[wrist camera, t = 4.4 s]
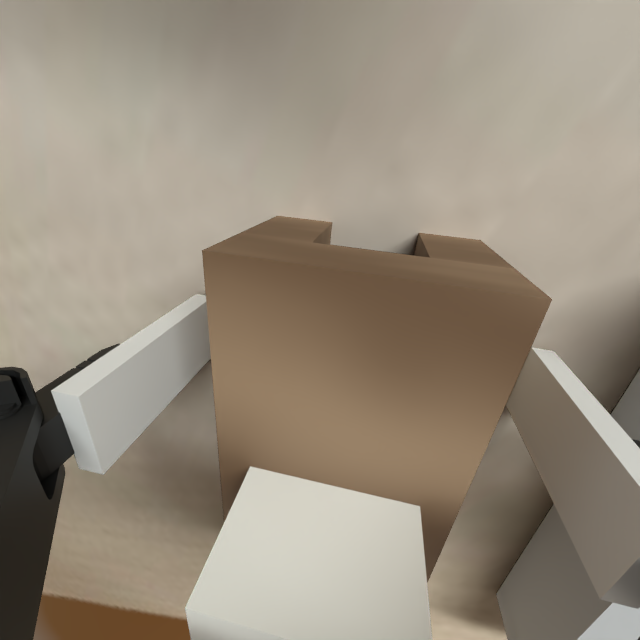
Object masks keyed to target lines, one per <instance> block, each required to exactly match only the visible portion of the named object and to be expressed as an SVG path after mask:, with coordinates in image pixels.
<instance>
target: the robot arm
mask: <svg viewBox="0 0 640 640" xmlns="http://www.w3.org/2000/svg"><path fill="white" fill-rule="evenodd" d="M210 359H211V354H210V341H209V329H208V316H207V304H206V296H205V295H199V294H195V295H194V296H192V297H191V298H189V299H188V300H186V301H185V302H183V303H182V304H180V305H179V306H177V307H176V308H174V309H173V310H171V311H170V312H168V313H167V314H165V315H164V316H162V317H161V318H159V319H158V320H156V321H155V322H153V323H152V324H150V325H149V326H147V327H146V328H144V329H143V330H141V331H140V332H138V333H137V334H135V335H134V336H132V337H131V338H129V339H128V340H126V341H125V342H123V343H122V344H116V345H114V346H111V347H108V348H106V349H103V350H101V351H99V352H98V353H96V354H95V355H93V356H91V357H90V358H88V360H87V361H84V362H82V363H81V364H79V365H77V366H76V368H73V369H71V370H70V371H68V372H67V373H65V374H63V375H62V376H60V377H59V378H57V379H56V380H54V381H53V382H51V383H49V384H48V385H46V386H45V387H43V388H42V389H40V390H39V391H37V392H35V391H34V389H33V386H32V383H31V381H30V378H29V376H28V373H27V372H26V371H25V370H23V369H22V368H16V367H5V368H0V640H33V637H34V631H35V626H36V621H37V616H38V611H39V606H40V600H41V595H42V590H43V585H44V580H45V575H46V570H47V565H48V560H49V555H50V550H51V544H52V539H53V534H54V529H55V524H56V519H57V514H58V509H59V503H60V498H61V493H62V488H63V483H64V478H65V467H64V465H63V463H64V462H65V461H66V460H67V459H68V458H70V457H71V456H72V455H73V454H74V456H75V458H76V461H77V464H78V467H79V469H83V470H87V471H91V472H95V473H99V474H103V475H104V474H105V473H106V471H107V470H108V469H109V468H110V467H111V466H112V465H113V464H114V463H115V462H116V461H117V460H118V458H119V457H120V456H121V455H122V454H123V453H124V452H125V451H126V450H127V449H128V448H129V446H130V445H131V444H132V443H133V442H134V441H135V440H136V439H137V438H138V437H139V436H140V435H141V433H142V432H143V431H144V430H145V429H146V428H147V427H148V426H149V425H150V424H151V423H152V422H153V420H154V419H155V418H156V417H157V416H158V415H159V414H160V413H161V412H162V411H163V410H164V409H165V407H166V406H167V405H168V404H169V403H170V402H171V401H172V400H173V399H174V398H175V397H176V396H177V394H178V393H179V392H180V391H181V390H182V389H183V388H184V387H185V386H186V385H187V384H188V383H189V381H190V380H191V379H192V378H193V377H194V376H195V375H196V374H197V373H198V372H199V371H200V370H201V368H202V367H203V366H204V365H205V364H206V363H207V362H208V361H209V360H210ZM506 406H507V408H508V410H509V412H510V414H511V416H512V418H513V420H514V423H515V425H516V427H517V429H518V431H519V433H520V435H521V437H522V439H523V441H524V443H525V445H526V447H527V449H528V451H529V454H530V456H531V458H532V460H533V462H534V464H535V466H536V468H537V470H538V472H539V474H540V476H541V478H542V480H543V482H544V484H545V487H546V489H547V491H548V493H549V495H550V497H551V499H552V501H553V503H554V505H555V507H556V509H557V511H558V513H559V515H560V518H561V520H562V522H563V524H564V526H565V528H566V530H567V532H568V534H569V536H570V538H571V540H572V542H573V544H574V546H575V549H576V551H577V553H578V555H579V557H580V559H581V561H582V563H583V565H584V567H585V569H586V571H587V573H588V575H589V577H590V579H591V582H592V584H593V586H594V588H595V590H596V592H597V594H598V596H599V598H600V599H601V600H604V601H608V602H612V603H616V604H620V605H624V606H628V607H632V608H636V609H638V608H639V607H640V441H639V440H634V439H631V438H630V437H629V436H628V434H627V433H626V432H625V431H624V430H623V429H622V428H621V427H620V425H619V424H618V423H617V422H616V421H615V420H614V419H613V417H612V416H611V415H610V414H609V413H608V412H607V411H606V410H605V408H604V407H603V406H602V405H601V404H600V403H599V402H598V400H597V399H596V398H595V397H594V396H593V395H592V394H591V393H590V391H589V390H588V389H587V388H586V387H585V386H584V385H583V383H582V382H581V381H580V380H579V379H578V378H577V377H576V376H575V374H574V373H573V372H572V371H571V370H570V369H569V368H568V366H567V365H566V364H565V363H564V362H563V361H562V360H561V359H560V357H559V356H558V355H557V354H556V353H555V352H554V351H551V350H545V349H538V348H532V347H531V350H530V352H529V354H528V357H527V359H526V361H525V363H524V366H523V368H522V370H521V372H520V375H519V377H518V379H517V382H516V384H515V386H514V388H513V391H512V393H511V395H510V397H509V400H508V402H507V404H506ZM638 640H640V637H639V638H638Z"/></svg>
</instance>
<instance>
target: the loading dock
mask: <svg viewBox="0 0 640 640" xmlns="http://www.w3.org/2000/svg"><path fill="white" fill-rule="evenodd" d="M611 416H612V417H613V419H614V420H615V421H616V422H617V423H618V424H619V425H620V427H621V428H622V429H623V430H624V431H625V432H626V433H627V434H628V436H629V437H630V438H631V439H634V440H639V441H640V369H639V371H638V373H637V374H636V376H635V377H634V379H633V380H632V382H631V384H630V385H629V387H628V388H627V390H626V391H625V393H624V395H623V396H622V398H621V399H620V401H619V402H618V404H617V406H616V407H615V409H614V410H613V412H612V413H611ZM496 595H497V599H498V603H499V607H500V611H501V615H502V619H503V623H504V627H505V631H506V635H507V639H508V640H638V638H639V637H640V607H639V608H638V609H636V608H632V607H628V606H624V605H620V604H616V603H612V602H608V601H604V600H601V599H600V598H599V596H598V594H597V592H596V590H595V588H594V586H593V584H592V582H591V579H590V577H589V575H588V573H587V571H586V569H585V567H584V565H583V563H582V561H581V559H580V557H579V555H578V553H577V551H576V549H575V546H574V544H573V542H572V540H571V538H570V536H569V534H568V532H567V530H566V528H565V526H564V524H563V522H562V520H561V518H560V515H559V513H558V511H557V509H556V507H555V505H554V504H553V506H552V507H551V509H550V510H549V512H548V514H547V515H546V517H545V518H544V520H543V521H542V523H541V525H540V526H539V528H538V529H537V531H536V532H535V534H534V535H533V537H532V539H531V540H530V542H529V543H528V545H527V546H526V548H525V550H524V551H523V553H522V554H521V556H520V557H519V559H518V561H517V562H516V564H515V565H514V567H513V568H512V570H511V572H510V573H509V575H508V576H507V578H506V579H505V581H504V582H503V584H502V586H501V587H500V589H499V590H498V592H497V593H496Z"/></svg>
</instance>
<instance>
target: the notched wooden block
mask: <svg viewBox="0 0 640 640" xmlns="http://www.w3.org/2000/svg"><path fill="white" fill-rule="evenodd" d="M331 229H332V222H325V221H316V220H308V219H300V218H291V217H283V216H276V217H274V218H272V219H270V220H267V221H265V222H263V223H261V224H259V225H257V226H254V227H252V228H250V229H248V230H246V231H244V232H241V233H239V234H237V235H235V236H233V237H231V238H228V239H226V240H224V241H222V242H220V243H217V244H215V245H213V246H211V247H209V248H207V249H204V250H202V254H203V267H204V279H205V292H206V304H207V316H208V329H209V341H210V354H211V366H212V379H213V391H214V403H215V416H216V428H217V441H218V453H219V466H220V478H221V491H222V503H223V515H224V522H225V520H226V518H227V516H228V513H229V511H230V509H231V507H232V505H233V503H234V500H235V498H236V496H237V494H238V492H239V490H240V487H241V485H242V483H243V481H244V479H245V476H246V474H247V472H248V470H249V468H250V466H251V467H255V468H259V469H264V470H268V471H272V472H276V473H281V474H285V475H289V476H293V477H298V478H302V479H306V480H310V481H315V482H319V483H323V484H327V485H332V486H336V487H340V488H344V489H349V490H353V491H357V492H361V493H366V494H370V495H374V496H378V497H383V498H387V499H391V500H395V501H400V502H404V503H408V504H412V505H417V506H420V511H421V522H422V533H423V544H424V555H425V566H426V577H427V582H428V580H429V578H430V575H431V573H432V571H433V569H434V566H435V564H436V562H437V560H438V557H439V555H440V553H441V550H442V548H443V546H444V544H445V541H446V539H447V537H448V535H449V532H450V530H451V528H452V526H453V523H454V521H455V519H456V516H457V514H458V512H459V510H460V507H461V505H462V503H463V501H464V498H465V496H466V494H467V491H468V489H469V487H470V485H471V482H472V480H473V478H474V476H475V473H476V471H477V469H478V466H479V464H480V462H481V460H482V457H483V455H484V453H485V451H486V448H487V446H488V444H489V442H490V439H491V437H492V435H493V432H494V430H495V428H496V426H497V423H498V421H499V419H500V417H501V414H502V412H503V410H504V407H505V405H506V403H507V401H508V398H509V396H510V394H511V392H512V389H513V387H514V385H515V382H516V380H517V378H518V376H519V373H520V371H521V369H522V367H523V364H524V362H525V360H526V358H527V355H528V353H529V351H530V348H531V346H532V344H533V342H534V339H535V337H536V335H537V333H538V330H539V328H540V326H541V323H542V321H543V319H544V317H545V314H546V312H547V310H548V308H549V305H550V303H551V301H552V299H551V298H550V297H549V296H547V295H546V294H545V293H544V292H543V291H541V290H540V289H539V288H538V287H537V286H535V285H534V284H533V283H532V282H530V281H529V280H528V279H527V278H526V277H524V276H523V275H522V274H521V273H520V272H518V271H517V270H516V269H515V268H513V267H512V266H511V265H510V264H509V263H507V262H506V261H505V260H504V259H503V258H501V257H500V256H499V255H498V254H497V253H495V252H494V251H493V250H492V249H490V248H489V247H488V246H487V245H486V244H484V243H483V242H482V241H481V240H474V239H466V238H458V237H449V236H441V235H433V234H424V233H419V235H418V240H417V244H416V249H415V253H414V256H413V255H405V254H398V253H390V252H382V251H375V250H367V249H359V248H351V247H344V246H336V245H330V239H331Z"/></svg>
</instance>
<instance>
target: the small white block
mask: <svg viewBox="0 0 640 640" xmlns="http://www.w3.org/2000/svg"><path fill="white" fill-rule="evenodd" d="M185 611H186V616H187V621H188V626H189V631H190V636H191V640H432V631H431V620H430V609H429V598H428V587H427V577H426V566H425V555H424V544H423V533H422V522H421V511H420V506H417V505H412V504H408V503H404V502H400V501H395V500H391V499H387V498H383V497H378V496H374V495H370V494H366V493H361V492H357V491H353V490H349V489H344V488H340V487H336V486H332V485H327V484H323V483H319V482H315V481H310V480H306V479H302V478H298V477H293V476H289V475H285V474H281V473H276V472H272V471H268V470H264V469H259V468H255V467H251V466H250V468H249V470H248V472H247V474H246V476H245V479H244V481H243V483H242V485H241V487H240V490H239V492H238V494H237V496H236V498H235V500H234V503H233V505H232V507H231V509H230V511H229V513H228V516H227V518H226V520H225V522H224V524H223V526H222V529H221V531H220V533H219V535H218V537H217V540H216V542H215V544H214V546H213V548H212V550H211V553H210V555H209V557H208V559H207V561H206V563H205V566H204V568H203V570H202V572H201V574H200V576H199V579H198V581H197V583H196V585H195V587H194V590H193V592H192V594H191V596H190V598H189V600H188V603H187V605H186V607H185Z"/></svg>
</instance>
